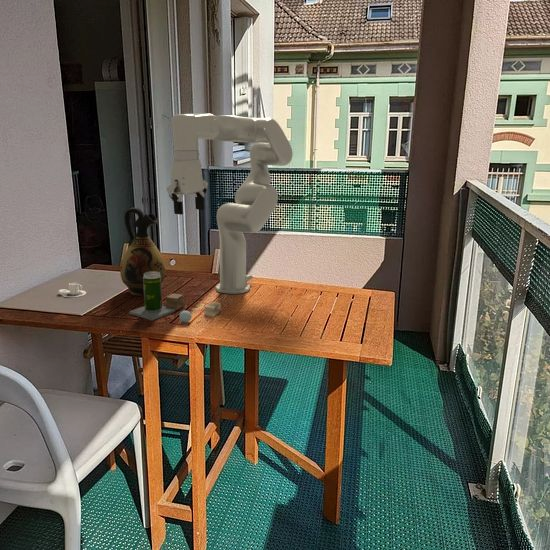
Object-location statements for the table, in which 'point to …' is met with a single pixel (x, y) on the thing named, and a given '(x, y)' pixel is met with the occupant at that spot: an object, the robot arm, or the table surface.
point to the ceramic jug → (140, 253)
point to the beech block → (212, 309)
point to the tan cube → (174, 301)
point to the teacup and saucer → (72, 290)
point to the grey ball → (185, 316)
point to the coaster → (151, 316)
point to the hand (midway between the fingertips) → (189, 211)
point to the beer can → (152, 291)
